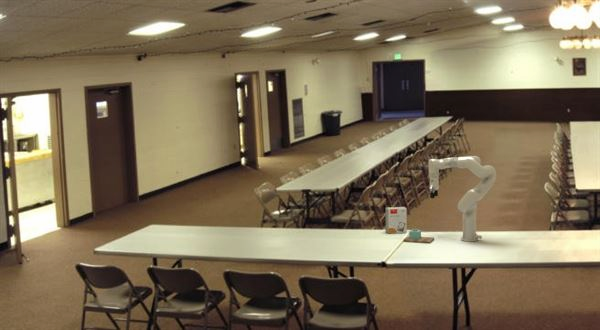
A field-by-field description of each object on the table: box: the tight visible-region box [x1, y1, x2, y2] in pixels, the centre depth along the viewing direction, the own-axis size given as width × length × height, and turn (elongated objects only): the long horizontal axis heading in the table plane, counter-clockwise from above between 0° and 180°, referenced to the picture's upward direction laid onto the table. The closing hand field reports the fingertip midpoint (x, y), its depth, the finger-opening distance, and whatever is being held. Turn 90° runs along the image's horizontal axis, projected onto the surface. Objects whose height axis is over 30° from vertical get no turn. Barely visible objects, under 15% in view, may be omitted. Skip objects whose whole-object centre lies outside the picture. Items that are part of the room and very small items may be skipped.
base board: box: [403, 235, 435, 245], centre depth 537 cm, size 20×14×6 cm
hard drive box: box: [385, 206, 408, 235], centre depth 567 cm, size 16×8×20 cm, turn 97°
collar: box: [408, 229, 422, 240], centre depth 538 cm, size 7×7×6 cm
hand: (434, 197), depth 547 cm, fingers open, 9 cm apart
